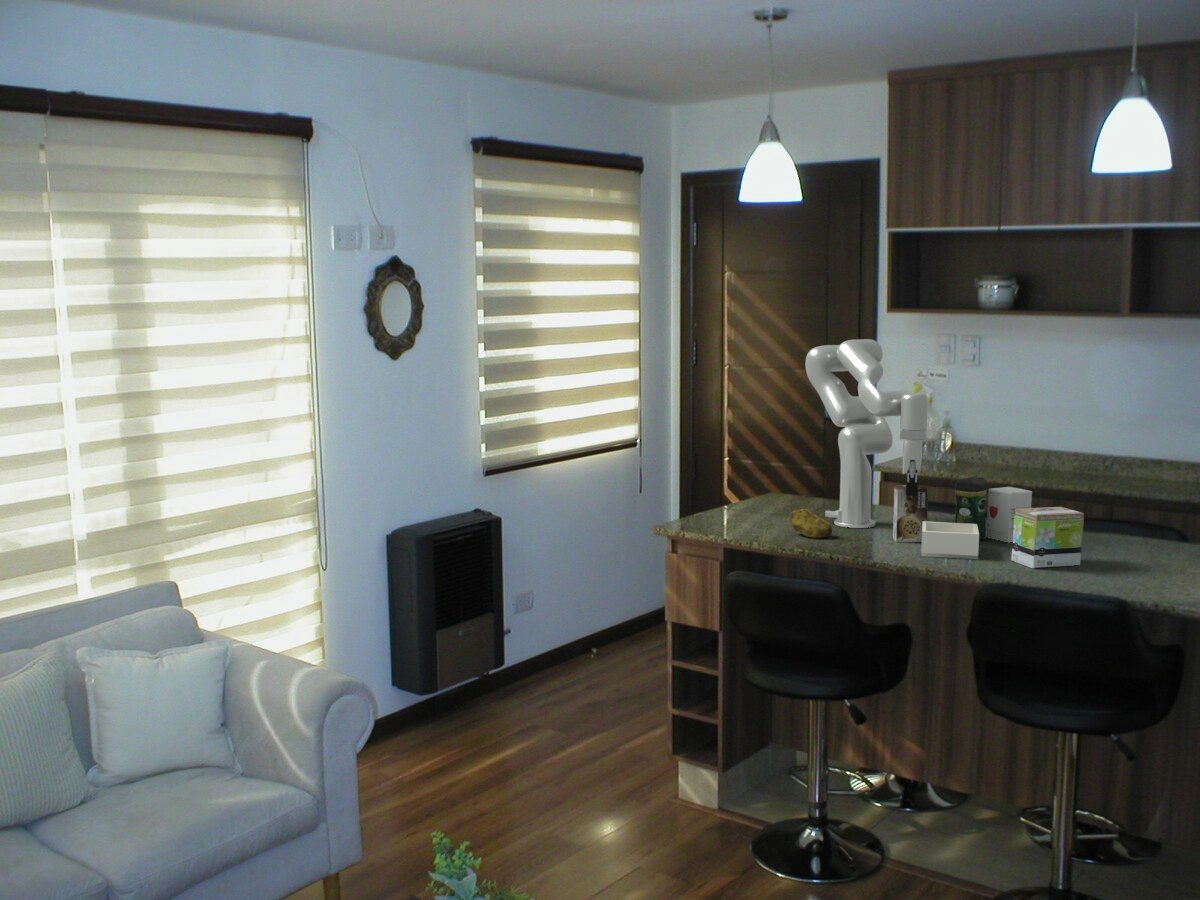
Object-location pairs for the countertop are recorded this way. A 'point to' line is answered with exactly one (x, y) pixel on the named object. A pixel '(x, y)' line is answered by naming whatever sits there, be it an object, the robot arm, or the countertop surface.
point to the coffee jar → (971, 503)
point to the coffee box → (909, 514)
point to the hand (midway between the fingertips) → (911, 493)
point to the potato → (809, 524)
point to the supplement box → (1005, 511)
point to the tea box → (1047, 537)
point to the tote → (950, 540)
